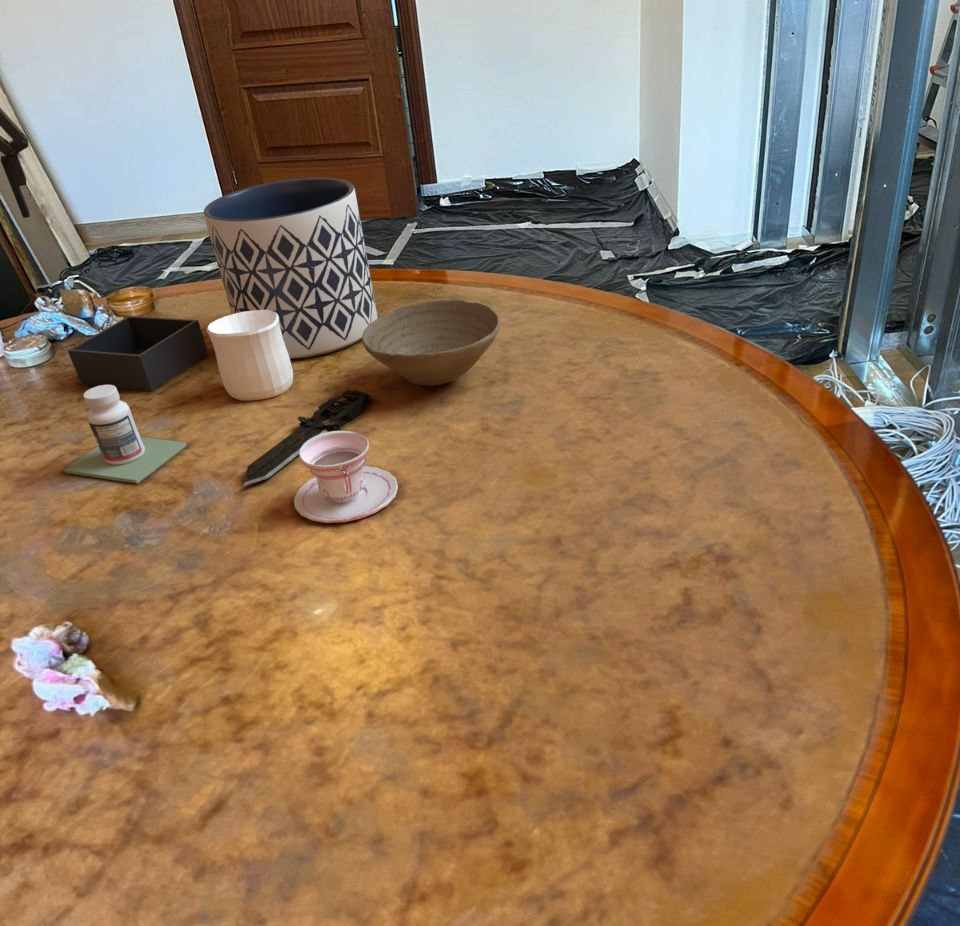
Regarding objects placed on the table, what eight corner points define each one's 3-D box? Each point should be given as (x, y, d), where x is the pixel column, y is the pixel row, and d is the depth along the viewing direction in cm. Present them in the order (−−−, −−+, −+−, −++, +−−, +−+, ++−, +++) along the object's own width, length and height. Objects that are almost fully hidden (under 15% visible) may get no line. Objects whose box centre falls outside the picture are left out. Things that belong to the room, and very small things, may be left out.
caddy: (81, 384, 136) (67, 350, 133) (140, 348, 146) (128, 315, 142) (152, 391, 131) (139, 356, 128) (208, 353, 141) (198, 319, 137)
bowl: (408, 423, 114) (398, 364, 109) (351, 379, 127) (339, 324, 122) (529, 381, 120) (524, 323, 115) (462, 343, 133) (456, 289, 128)
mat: (65, 473, 113) (63, 469, 113) (117, 436, 120) (115, 433, 120) (137, 483, 109) (136, 480, 109) (187, 445, 116) (186, 442, 115)
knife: (254, 493, 104) (251, 483, 103) (216, 482, 107) (212, 472, 106) (383, 403, 119) (382, 393, 119) (347, 395, 123) (345, 386, 122)
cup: (306, 387, 126) (289, 319, 120) (240, 410, 123) (220, 341, 116) (281, 368, 133) (264, 303, 126) (218, 389, 129) (197, 322, 123)
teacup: (284, 487, 104) (271, 440, 100) (381, 460, 107) (371, 413, 103) (308, 536, 95) (294, 486, 91) (412, 505, 98) (403, 455, 94)
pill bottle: (110, 448, 116) (84, 384, 111) (149, 443, 116) (125, 379, 110) (100, 468, 112) (72, 403, 106) (140, 463, 112) (115, 397, 106)
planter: (371, 354, 133) (344, 209, 120) (226, 368, 135) (184, 227, 122) (385, 302, 150) (362, 171, 137) (256, 315, 152) (222, 187, 139)
